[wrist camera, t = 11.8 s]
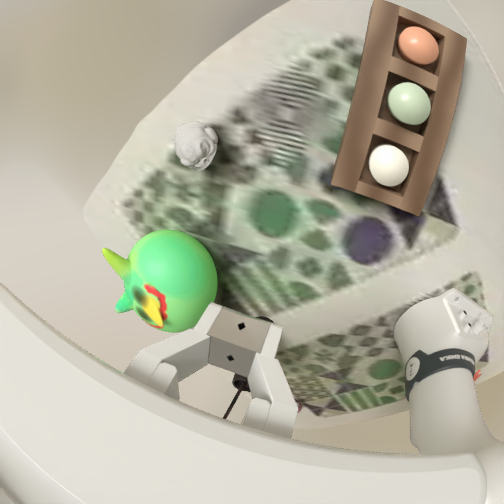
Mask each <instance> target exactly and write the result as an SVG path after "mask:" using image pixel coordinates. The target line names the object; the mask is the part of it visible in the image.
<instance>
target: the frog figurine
mask: <svg viewBox="0 0 504 504" xmlns="http://www.w3.org/2000/svg"><path fill="white" fill-rule="evenodd" d="M174 142H175V148H176V154H177V156H178V157H179V158H180V160H181V163H182V164H184V165H185V166H187V167H189V168H191V169H194V170H197V171H202V170H204V169H206V168H207V167H208V166H209V165H210V164H211V163H212V161H213V158H214V155H215V153H216V151H217V142H218V137H217V135H216V133H215V131H214V130H213V129H212V128H210V127H208V126H207V125H205V124H204V123H201V122H190V123H189V124H183V125H181V126H179V127H178V129H177V131H176V133H175V137H174Z"/></svg>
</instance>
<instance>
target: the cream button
mask: <svg viewBox="0 0 504 504" xmlns="http://www.w3.org/2000/svg"><path fill="white" fill-rule="evenodd" d="M368 167H369V170H370V172H371V173H372V175H373V177H374V178H375V180H376V181H377V182H379V183H380V184H382V185H385V186H396V185H398V184H400V183H401V182H403V181H404V179H405V178H406V176H407V174H408V170H409V164H408V160H407V158H406V156H405V154H404V153H403V152H402V151H401V150H399V149H398V148H396V147H395V146H393V145H391V144H385V143H384V144H379V145H377V146H375V147H374V148H373V149H372V150H371V151H370V153H369V156H368Z"/></svg>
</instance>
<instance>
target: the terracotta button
mask: <svg viewBox="0 0 504 504" xmlns="http://www.w3.org/2000/svg"><path fill="white" fill-rule="evenodd" d="M396 46H397V50H398V52H399V54H400V55H401V57H402V58H403V59H404V60H405V61H407V62H408V63H410V64H412V65H415V66H424V65H427V64H429V63H432V62H434V61H435V60H436V59H437V57H438V54H439V48H438V44H437V42H436V40H435V39H434V37H433V36H432V35H431V34H430V33H429V32H427V31H426V30H424V29H422V28H419V27H408V28H406V29H405V30H404V31H403V32H402V33H401V34H400V35H399V36H398V38H397V41H396Z"/></svg>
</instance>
